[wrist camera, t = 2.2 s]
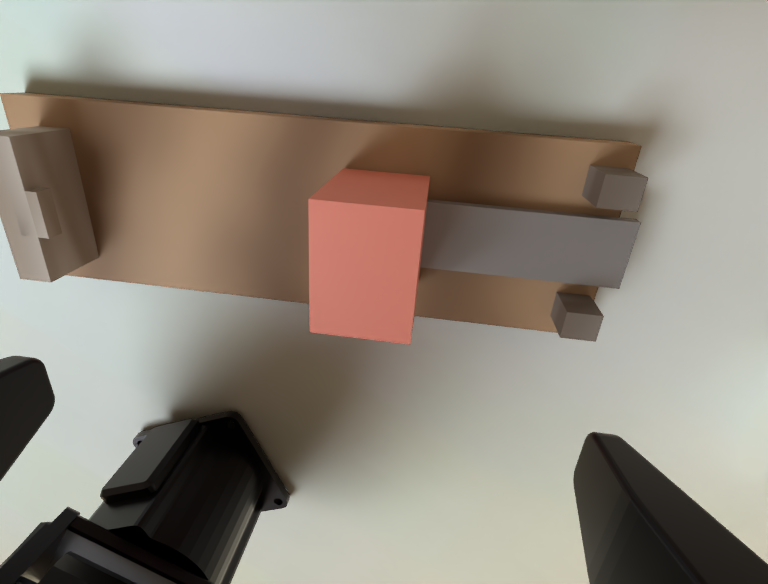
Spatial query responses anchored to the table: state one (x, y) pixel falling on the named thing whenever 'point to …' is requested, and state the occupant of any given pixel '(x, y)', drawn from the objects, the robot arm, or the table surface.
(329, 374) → the table surface
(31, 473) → the table surface
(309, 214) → the tab
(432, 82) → the table surface
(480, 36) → the table surface
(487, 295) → the plank
